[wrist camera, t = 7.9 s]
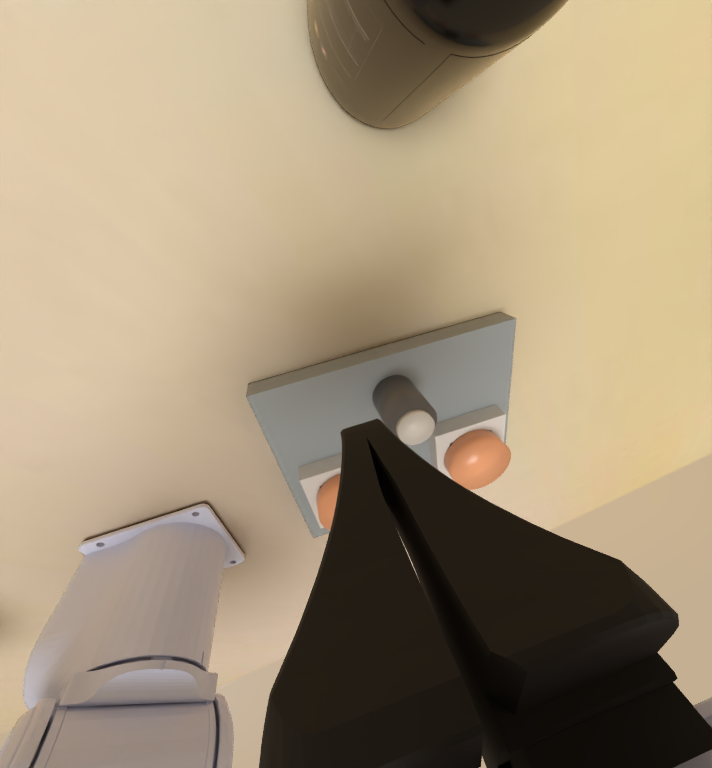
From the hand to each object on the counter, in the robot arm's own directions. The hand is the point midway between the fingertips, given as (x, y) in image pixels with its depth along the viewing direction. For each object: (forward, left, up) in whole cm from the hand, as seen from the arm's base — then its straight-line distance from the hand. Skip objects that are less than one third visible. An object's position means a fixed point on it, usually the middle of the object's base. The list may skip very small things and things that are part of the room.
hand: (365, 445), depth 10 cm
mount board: (+4, -9, -10) cm, 14 cm away
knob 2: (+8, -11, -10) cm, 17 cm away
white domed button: (+4, -4, -9) cm, 10 cm away
